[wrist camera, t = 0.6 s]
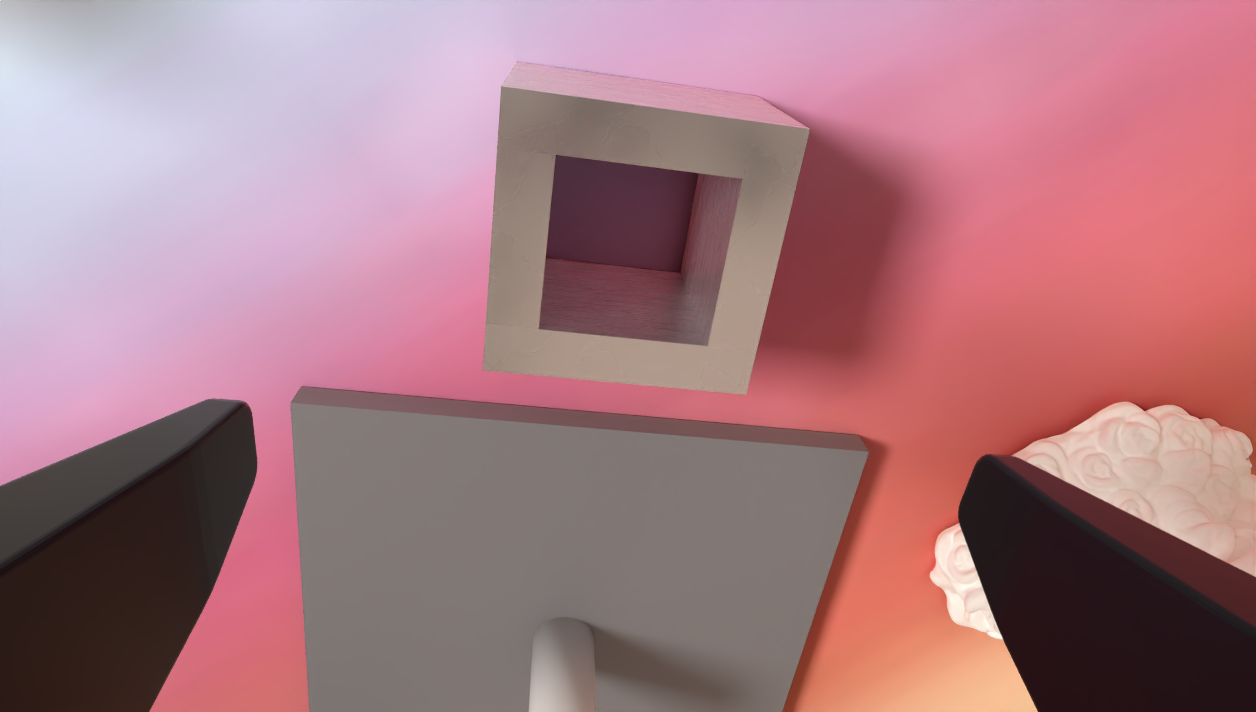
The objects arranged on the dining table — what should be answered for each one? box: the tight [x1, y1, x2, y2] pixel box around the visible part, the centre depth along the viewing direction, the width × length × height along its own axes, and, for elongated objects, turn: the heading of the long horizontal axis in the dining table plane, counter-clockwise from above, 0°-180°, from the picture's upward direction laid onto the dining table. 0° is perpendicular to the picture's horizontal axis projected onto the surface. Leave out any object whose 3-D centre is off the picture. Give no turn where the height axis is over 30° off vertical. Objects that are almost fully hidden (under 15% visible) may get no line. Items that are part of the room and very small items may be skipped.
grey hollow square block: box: [483, 62, 810, 395], centre depth 19 cm, size 6×6×5 cm
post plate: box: [291, 386, 869, 712], centre depth 25 cm, size 18×18×7 cm
